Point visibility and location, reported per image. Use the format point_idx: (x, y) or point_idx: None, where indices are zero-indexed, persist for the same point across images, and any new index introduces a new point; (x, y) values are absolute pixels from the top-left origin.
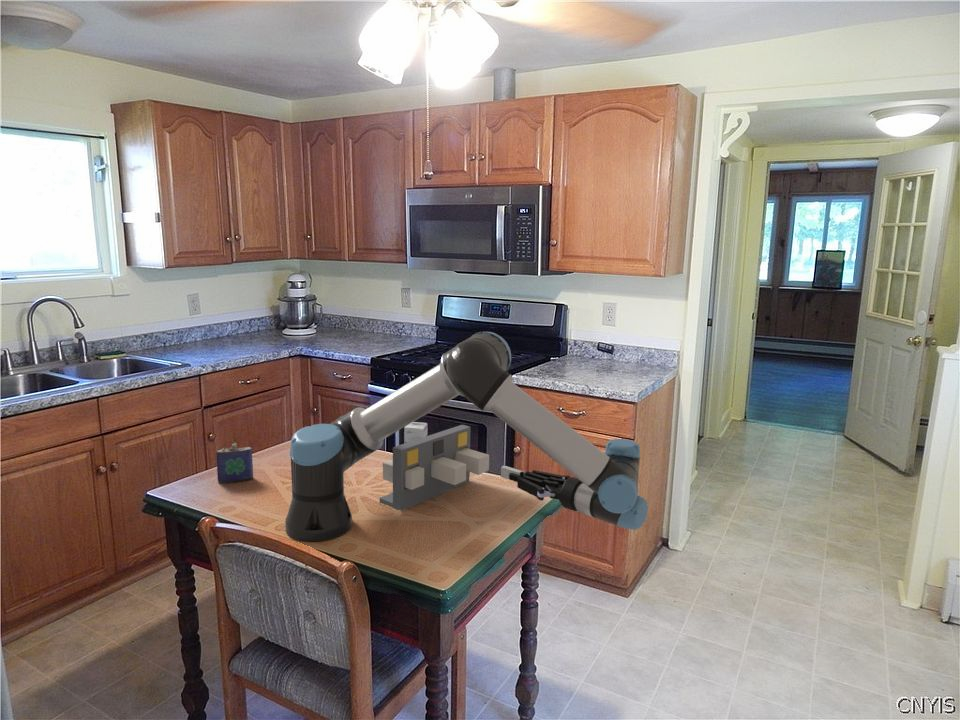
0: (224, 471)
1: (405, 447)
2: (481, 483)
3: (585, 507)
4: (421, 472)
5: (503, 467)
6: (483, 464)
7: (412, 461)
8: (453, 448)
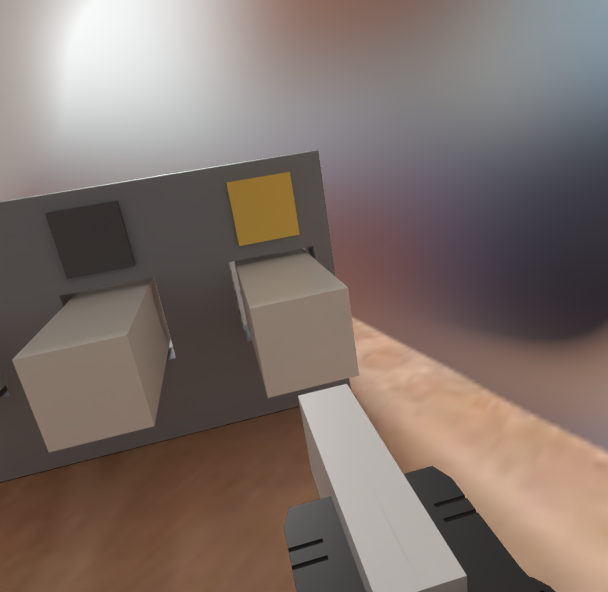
0: None
1: None
2: (386, 415)
3: None
4: None
5: (307, 406)
6: (302, 341)
7: None
8: (212, 249)
